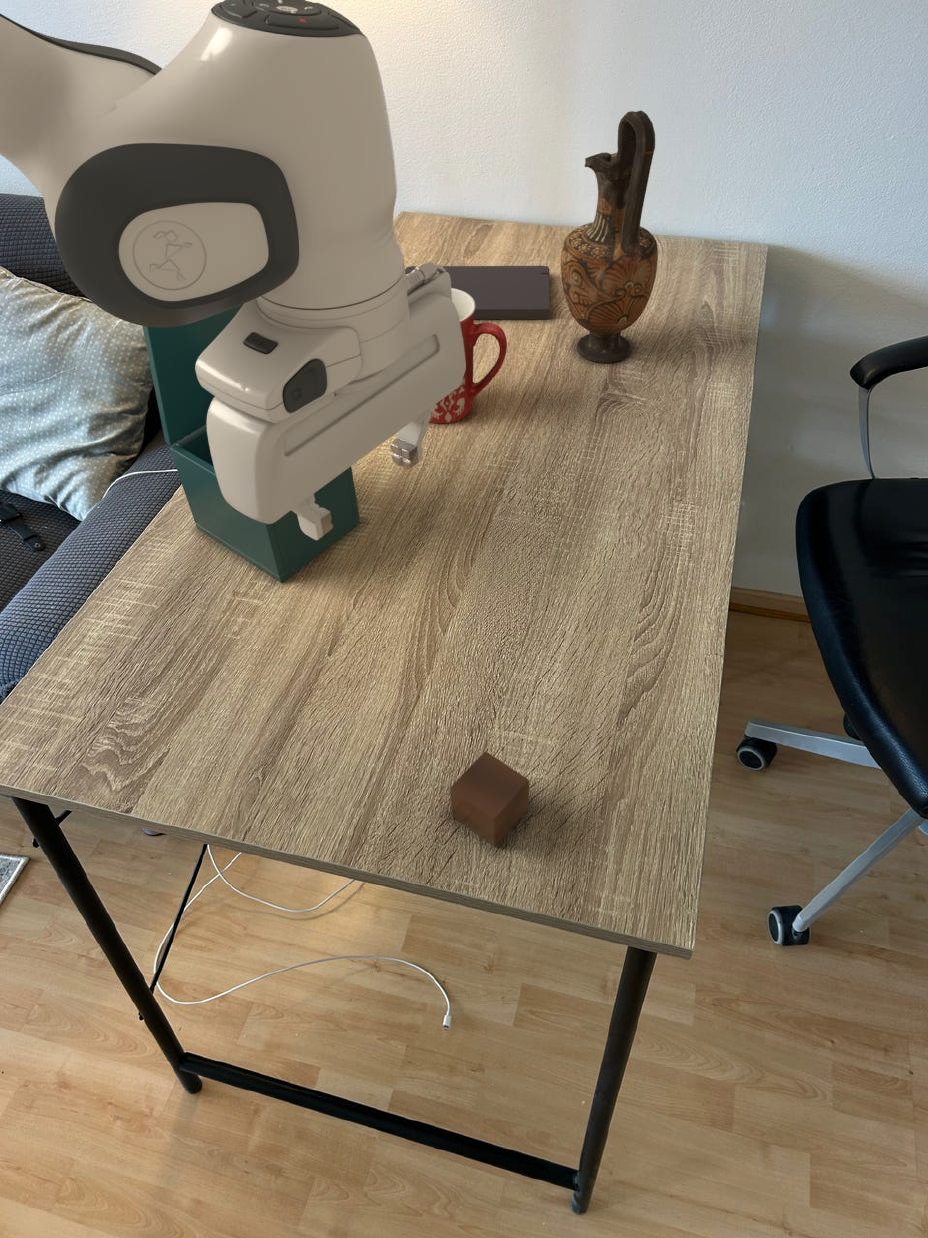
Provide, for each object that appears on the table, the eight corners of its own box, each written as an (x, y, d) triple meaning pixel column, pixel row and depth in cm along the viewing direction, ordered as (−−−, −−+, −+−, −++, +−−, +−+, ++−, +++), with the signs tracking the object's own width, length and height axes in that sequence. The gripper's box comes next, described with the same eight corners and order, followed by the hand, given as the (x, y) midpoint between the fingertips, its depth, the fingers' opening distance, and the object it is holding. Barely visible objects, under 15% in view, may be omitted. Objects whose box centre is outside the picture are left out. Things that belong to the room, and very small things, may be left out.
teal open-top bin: (360, 523, 97) (347, 441, 89) (281, 583, 91) (259, 501, 83) (276, 474, 103) (256, 394, 95) (196, 528, 97) (169, 447, 89)
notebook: (397, 319, 126) (549, 319, 124) (395, 308, 124) (549, 308, 123) (406, 275, 134) (549, 275, 133) (405, 265, 133) (549, 265, 132)
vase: (623, 320, 123) (648, 76, 101) (664, 366, 115) (701, 112, 93) (543, 336, 121) (552, 91, 99) (580, 385, 113) (598, 129, 91)
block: (494, 848, 70) (494, 819, 67) (452, 817, 72) (449, 787, 69) (528, 809, 73) (529, 780, 69) (486, 780, 75) (485, 750, 71)
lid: (249, 273, 83) (211, 246, 84) (147, 325, 77) (108, 296, 78) (258, 392, 95) (225, 367, 96) (170, 445, 89) (136, 418, 90)
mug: (395, 422, 109) (384, 320, 99) (420, 382, 115) (412, 281, 105) (494, 438, 106) (493, 335, 96) (515, 396, 112) (516, 295, 102)
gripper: (410, 238, 60) (425, 411, 71) (170, 377, 50) (228, 555, 60) (483, 263, 58) (488, 439, 68) (245, 415, 47) (293, 596, 58)
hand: (364, 495), depth 64 cm, fingers open, 8 cm apart
